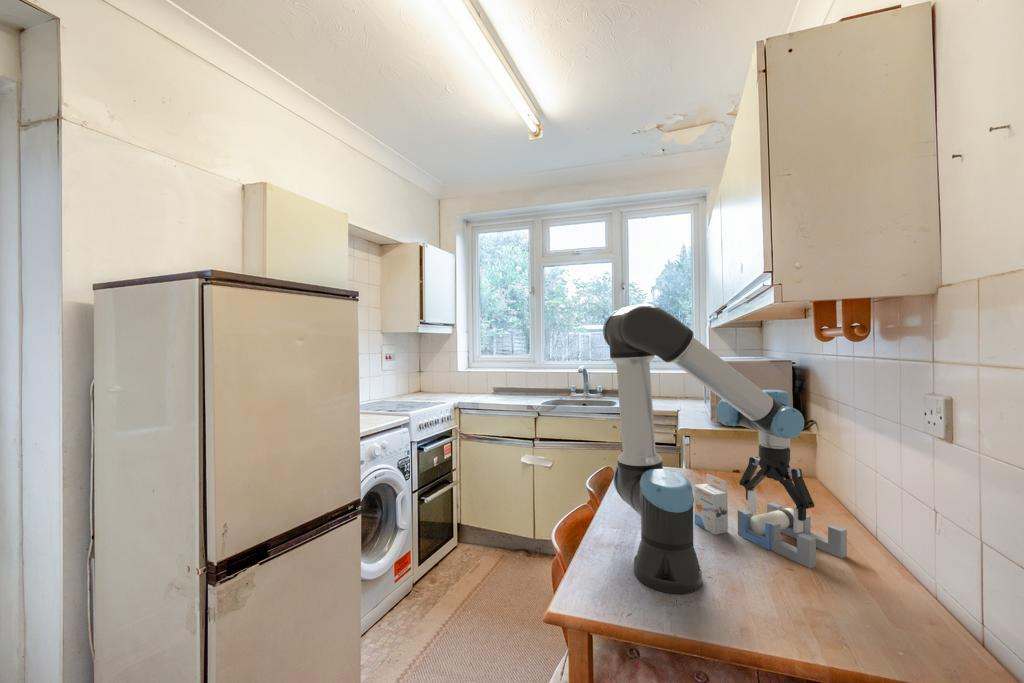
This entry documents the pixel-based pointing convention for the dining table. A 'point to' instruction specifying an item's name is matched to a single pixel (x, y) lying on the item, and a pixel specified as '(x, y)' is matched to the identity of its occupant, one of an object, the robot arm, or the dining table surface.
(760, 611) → the dining table surface
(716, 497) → the ink box
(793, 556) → the bracket
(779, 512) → the banded white cylinder
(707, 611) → the dining table surface
